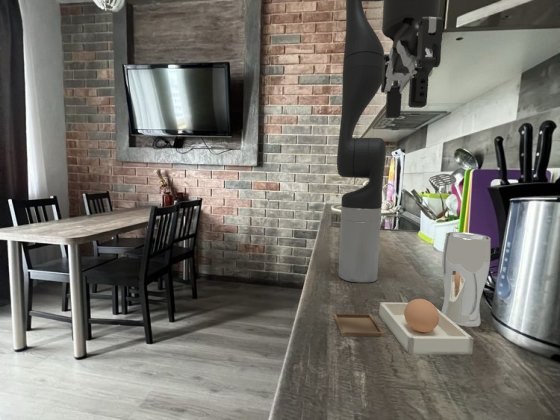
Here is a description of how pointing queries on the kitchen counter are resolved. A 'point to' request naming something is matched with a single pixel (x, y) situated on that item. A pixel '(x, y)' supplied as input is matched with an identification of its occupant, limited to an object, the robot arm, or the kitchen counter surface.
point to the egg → (421, 315)
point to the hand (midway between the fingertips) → (403, 112)
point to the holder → (358, 325)
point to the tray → (426, 333)
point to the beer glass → (464, 276)
